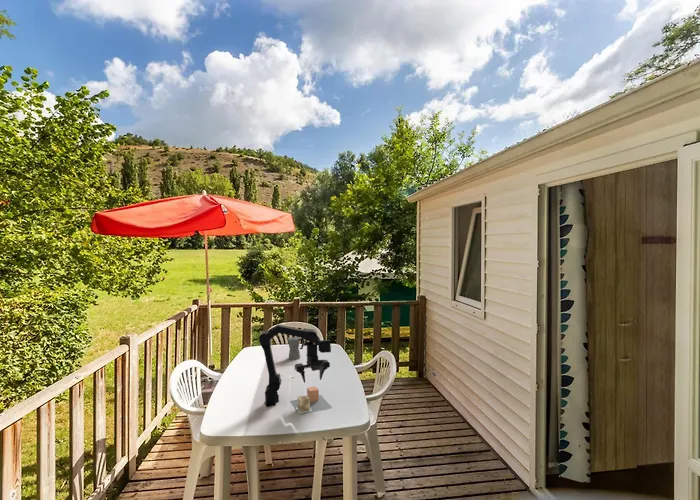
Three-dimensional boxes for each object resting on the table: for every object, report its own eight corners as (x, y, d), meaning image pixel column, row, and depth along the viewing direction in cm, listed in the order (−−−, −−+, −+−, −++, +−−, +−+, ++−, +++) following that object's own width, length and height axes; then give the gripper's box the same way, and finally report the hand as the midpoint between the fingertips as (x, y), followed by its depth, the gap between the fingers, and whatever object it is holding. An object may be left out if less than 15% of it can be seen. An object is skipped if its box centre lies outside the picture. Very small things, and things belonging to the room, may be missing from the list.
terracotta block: (309, 402, 201) (309, 391, 201) (307, 398, 206) (307, 387, 206) (318, 400, 203) (318, 389, 203) (315, 396, 208) (315, 386, 208)
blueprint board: (299, 416, 186) (299, 414, 186) (290, 402, 203) (289, 400, 203) (332, 409, 194) (332, 408, 194) (321, 396, 210) (321, 395, 210)
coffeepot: (283, 359, 278) (283, 335, 278) (289, 355, 287) (289, 332, 287) (301, 361, 273) (301, 336, 272) (307, 357, 282) (307, 333, 281)
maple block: (300, 412, 189) (300, 400, 189) (297, 408, 194) (297, 396, 194) (309, 410, 191) (309, 398, 191) (306, 406, 196) (306, 395, 196)
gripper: (299, 359, 193) (300, 389, 193) (333, 354, 200) (333, 383, 200) (294, 353, 203) (294, 381, 203) (326, 349, 210) (326, 376, 211)
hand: (312, 381), depth 204 cm, fingers open, 9 cm apart
